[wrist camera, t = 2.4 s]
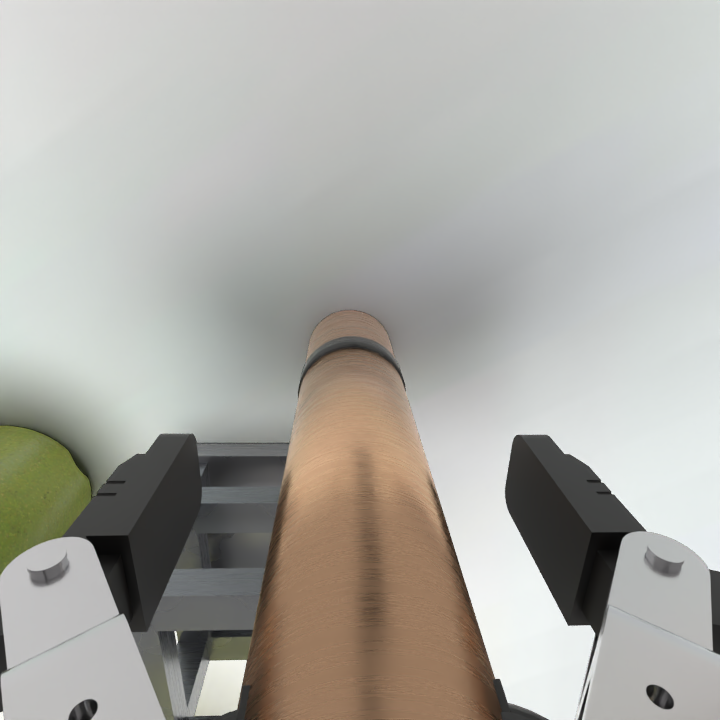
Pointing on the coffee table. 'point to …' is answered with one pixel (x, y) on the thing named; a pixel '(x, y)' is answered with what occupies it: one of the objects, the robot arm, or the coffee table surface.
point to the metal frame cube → (215, 574)
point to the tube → (362, 557)
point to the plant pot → (36, 491)
